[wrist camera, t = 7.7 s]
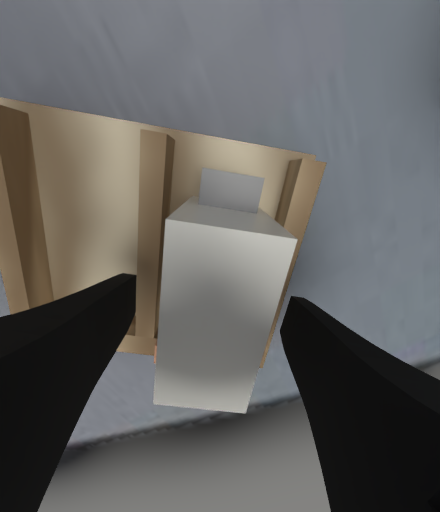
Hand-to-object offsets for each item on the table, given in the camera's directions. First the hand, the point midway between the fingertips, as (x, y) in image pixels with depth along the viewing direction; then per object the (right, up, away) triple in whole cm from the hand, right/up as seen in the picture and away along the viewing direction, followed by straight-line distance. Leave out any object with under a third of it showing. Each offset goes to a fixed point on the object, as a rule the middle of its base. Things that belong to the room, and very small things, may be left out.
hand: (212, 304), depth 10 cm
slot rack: (-4, +3, +5) cm, 7 cm away
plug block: (0, +2, +4) cm, 5 cm away
